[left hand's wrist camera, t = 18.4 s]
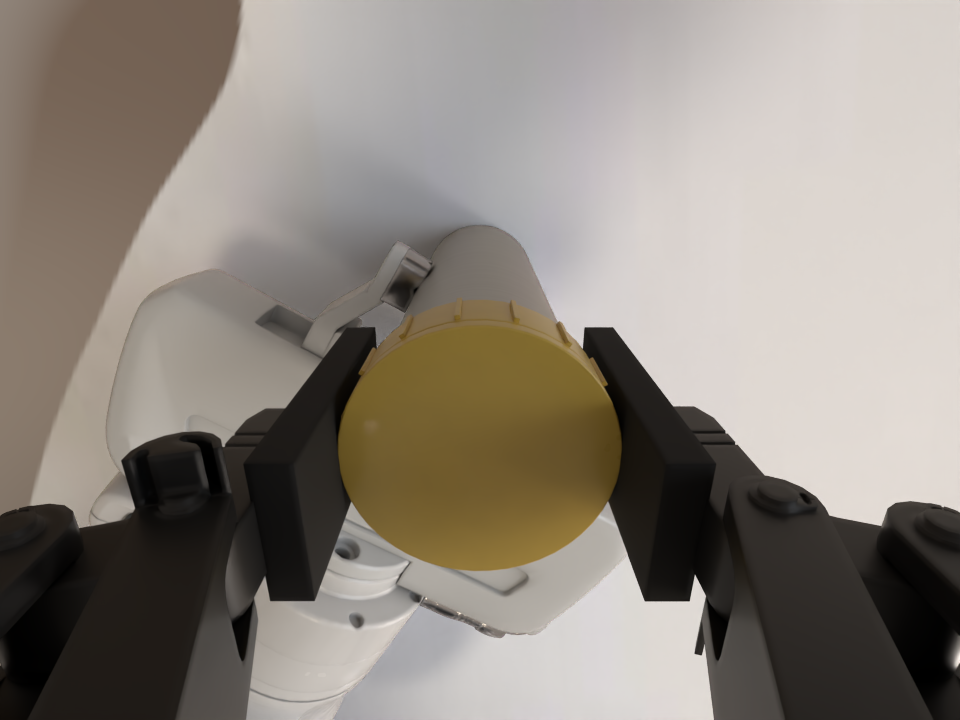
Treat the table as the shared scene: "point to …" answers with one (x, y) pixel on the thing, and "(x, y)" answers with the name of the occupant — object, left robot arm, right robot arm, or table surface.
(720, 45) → the table surface
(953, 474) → the table surface
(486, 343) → the lid
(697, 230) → the table surface
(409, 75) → the table surface
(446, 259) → the jar
